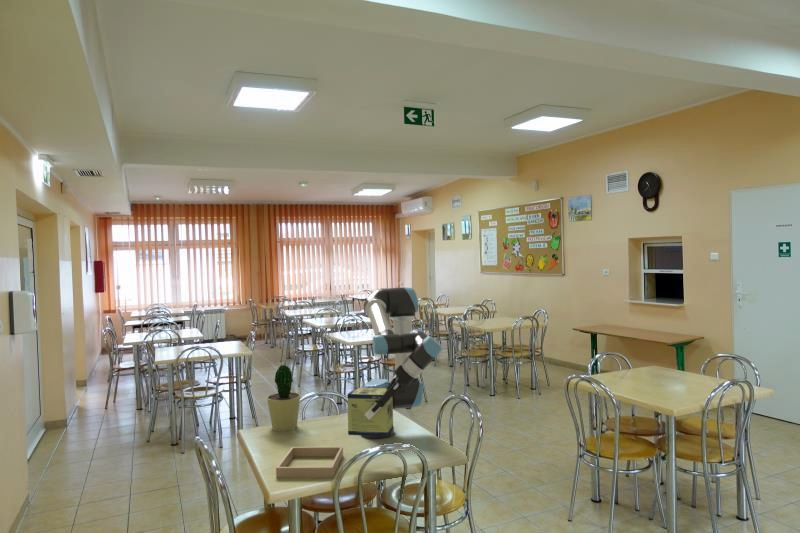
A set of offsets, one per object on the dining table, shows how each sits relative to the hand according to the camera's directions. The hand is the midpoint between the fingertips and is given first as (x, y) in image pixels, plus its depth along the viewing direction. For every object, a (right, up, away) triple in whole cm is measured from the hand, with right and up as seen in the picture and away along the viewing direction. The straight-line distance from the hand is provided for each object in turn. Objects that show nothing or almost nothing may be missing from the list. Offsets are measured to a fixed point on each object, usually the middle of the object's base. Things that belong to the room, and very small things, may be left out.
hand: (368, 412), depth 207 cm
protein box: (+1, -7, 0) cm, 8 cm away
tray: (-22, -20, 0) cm, 30 cm away
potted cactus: (-43, -21, +50) cm, 69 cm away
